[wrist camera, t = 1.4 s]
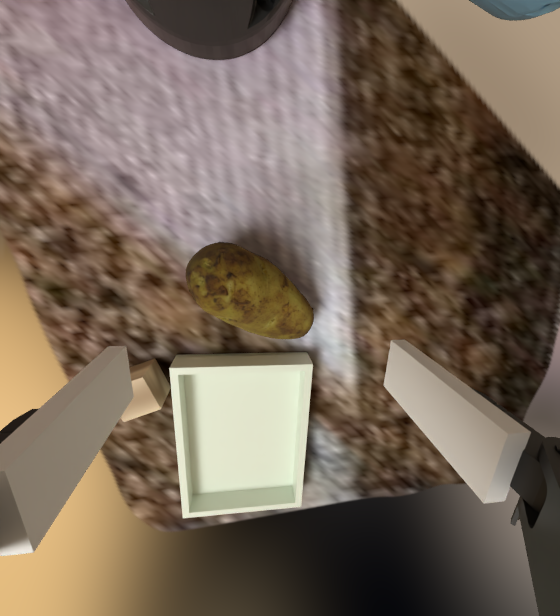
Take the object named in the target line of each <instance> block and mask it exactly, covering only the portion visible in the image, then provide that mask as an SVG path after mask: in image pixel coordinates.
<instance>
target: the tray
mask: <svg viewBox="0 0 560 616" xmlns="http://www.w3.org/2000/svg"><path fill="white" fill-rule="evenodd" d="M312 370H313V363H312V361H311V359H310V357H309V355H308V353H307V352H280V353H232V354H184V355H176V356H175V358H174V360H173V362H172V364H171V366H170V368H169V371H170V382H171V393H172V404H173V415H174V426H175V437H176V448H177V459H178V470H179V481H180V492H181V503H182V513H183V518H190V517H201V516H211V515H221V514H231V513H242V512H252V511H262V510H272V509H283V508H293V507H301V501H302V489H303V477H304V465H305V453H306V442H307V430H308V418H309V406H310V394H311V382H312Z"/></svg>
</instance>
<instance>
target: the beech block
mask: <svg viewBox="0 0 560 616" xmlns="http://www.w3.org/2000/svg"><path fill="white" fill-rule="evenodd" d="M129 369H130V375H131V382H132V388H133V395H134V397H133V399H132V400H131V402H130V403H129V405H128V407H127V408H126V410H125V411H124V413H123V414H122V416H121V419H122V420H123V422H125V421H128V420H131V419H134V418H137V417H139V416H142V415H145V414H148V413H151V412H154V411H157V410H159V409H161V408H162V405H163V403H164V401H165V399H166V397H167V394H168V392H169V390H170V388H171V387H170V385H169V383H168V381H167V379H166V377H165V376H164V374H163V372H162V370H161V368H160V366H159V364H158V362H157V361H156V359H152V360H149V361H146V362H144V363H141V364H138V365H135V366H132V367H129Z"/></svg>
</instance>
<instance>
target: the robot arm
mask: <svg viewBox="0 0 560 616" xmlns="http://www.w3.org/2000/svg"><path fill="white" fill-rule="evenodd" d="M469 1H471V2H472V3H474V4H475V5H477V6H479V7H480V8H482V9H483V10H485V11H486V12H488V13H489V14H491V15H493V16H495V17H497V18H500V19H504V20H525V19H531V18H534V17H538V16H540V15H543V14H546V13H549V12H552V11H554V10H556V9H558V8H559V7H560V0H469ZM126 2H127V4H128V5H129V6H130V8H131V9H132V11H133V12H134V13H135V14H136V16H137V17H138V18H139V19H140V20H141V21H142V23H143V24H144V25H145V26H146V27H147V28H148V29H149V30H150V31H152V32H153V33H154V34H155V35H156V36H157V37H159V38H160V39H161V40H163V41H164V42H165V43H167V44H169V45H170V46H172V47H173V48H175V49H177V50H179V51H181V52H184V53H186V54H189V55H192V56H195V57H199V58H204V59H213V60H220V59H229V58H234V57H237V56H241V55H243V54H246V53H248V52H250V51H252V50H253V49H255V48H257V47H258V46H259V45H261V44H262V43H263V42H265V41H266V40H267V39H268V38H269V37H270V36H271V35H272V34H273V32H274V31H275V30H276V29H277V27H278V26H279V25H280V23H281V22H282V20H283V18H284V17H285V15H286V13H287V11H288V9H289V7H290V4H291V2H292V0H126ZM384 387H385V388H386V389H387V390H388V391H389V392H390V394H391V395H392V396H393V397H394V398H395V400H396V401H397V402H398V403H399V404H400V405H401V407H402V408H403V409H404V410H405V411H406V412H407V414H408V415H409V416H410V417H411V418H412V420H413V421H414V422H415V423H416V424H417V425H418V427H419V428H420V429H421V430H422V431H423V432H424V434H425V435H426V436H427V437H428V438H429V440H430V441H431V442H432V443H433V444H434V445H435V447H436V448H437V449H438V450H439V451H440V452H441V454H442V455H443V456H444V457H445V458H446V460H447V461H448V462H449V463H450V464H451V465H452V467H453V468H454V469H455V470H456V471H457V472H458V474H459V475H460V476H461V477H462V478H463V480H464V481H465V482H466V483H467V484H468V485H469V487H470V488H471V489H472V490H473V491H474V492H475V494H476V495H477V496H478V497H479V498H480V499H481V501H482V502H483V503H491V502H501V501H505V499H506V497H507V494H508V491H509V489H510V486H511V487H512V488H513V489H514V490H515V491H516V492H517V493H518V494H519V495H520V498H519V500H518V503H517V505H516V508H515V510H514V513H513V516H512V518H511V524H513V525H516V522H517V520H519V519H520V521H521V526H522V531H523V536H524V541H525V546H526V551H527V556H528V561H529V566H530V571H531V577H532V581H533V587H534V592H535V597H536V602H537V607H538V612H539V616H560V438H556V437H547V438H545V437H544V436H542V435H541V434H539V433H538V432H536V431H535V430H534V429H533V428H531V427H530V426H528V425H527V424H525V423H524V422H523V421H521V420H520V419H519V418H517V417H516V416H514V415H513V414H512V413H510V412H507V410H506V409H505V408H503V407H502V406H500V405H497V403H496V402H495V401H493V400H492V399H491V398H489V397H488V396H486V395H485V394H483V393H481V392H479V391H477V390H475V389H473V388H471V387H469V386H467V385H466V384H465V383H463V382H462V381H460V380H459V379H458V378H456V377H455V376H454V375H452V374H451V373H450V372H448V371H447V370H445V369H444V368H443V367H441V366H440V365H439V364H437V363H436V362H435V361H433V360H432V359H430V358H429V357H428V356H426V355H425V354H424V353H422V352H421V351H420V350H418V349H417V348H415V347H414V346H413V345H411V344H410V343H409V342H407V341H406V340H391V345H390V351H389V357H388V363H387V369H386V375H385V380H384ZM133 397H134V395H133V388H132V382H131V375H130V369H129V362H128V356H127V349H126V346H108V347H107V348H106V349H105V350H104V351H103V352H102V353H101V354H99V355H98V356H97V357H96V358H95V359H94V360H93V361H92V362H91V363H89V364H88V365H87V366H86V367H85V368H84V369H83V370H82V371H81V372H79V373H78V374H77V375H76V376H75V377H74V378H73V379H72V380H71V381H69V382H68V383H67V384H66V385H65V386H64V387H63V388H62V389H61V390H59V391H58V392H57V393H56V394H55V395H54V396H53V397H52V398H51V399H50V400H48V401H47V402H46V403H45V404H44V405H43V406H42V407H41V408H39V409H32V410H30V411H28V412H26V413H25V414H23V415H21V416H19V417H18V418H16V419H14V420H13V421H12V422H10V423H9V424H8V425H7V426H6V427H4V428H3V429H2V430H1V431H0V555H1V556H5V555H15V554H24V553H33V552H34V551H35V550H36V548H37V547H38V545H39V543H40V542H41V540H42V539H43V537H44V536H45V534H46V533H47V531H48V529H49V528H50V526H51V525H52V523H53V522H54V520H55V518H56V517H57V515H58V514H59V512H60V511H61V509H62V508H63V506H64V505H65V503H66V501H67V500H68V498H69V496H70V495H71V494H72V492H73V491H74V489H75V487H76V486H77V484H78V483H79V481H80V480H81V478H82V477H83V475H84V473H85V472H86V470H87V469H88V467H89V466H90V464H91V463H92V461H93V459H94V458H95V456H96V455H97V453H98V452H99V450H100V449H101V447H102V445H103V444H104V442H105V441H106V439H107V438H108V436H109V435H110V433H111V431H112V430H113V428H114V427H115V425H116V424H117V422H118V421H119V419H120V417H121V416H122V414H123V413H124V411H125V410H126V408H127V407H128V405H129V403H130V402H131V400H132V399H133Z"/></svg>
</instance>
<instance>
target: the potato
mask: <svg viewBox="0 0 560 616" xmlns="http://www.w3.org/2000/svg"><path fill="white" fill-rule="evenodd" d="M186 280H187V285H188V288H189V291H190V293H191V294H192V297H193V298H194V300H195V301H196V302H197V304H198V305H199V306H200V307H201V308H202V309H203V310H205V311H206V312H208V313H209V314H211V315H213V316H215V317H217V318H219V319H221V320H223V321H225V322H227V323H229V324H231V325H234V326H236V327H239V328H242V329H244V330H246V331H248V332H251V333H255V334H258V335H261V336H265V337H269V338H275V339H296V338H300V337H302V336H304V335H305V334H307V333H308V331H309V330H310V328H311V326H312V324H313V319H314V314H313V308H312V307H311V306H310V304H309V303H308V301H307V300H306V298H305V297H304V296H303V295H302V294H301V293H300V292H299V291H298V289H297V288H296V287H295V286H294V285H293V283H292V282H291V281H290V280H289V279H288V278H287V277H286V276H285V275H284V274H283V273H282V272H281V271H280V270H279V269H278V268H277V267H276V266H275V265H273V264H272V263H271V262H269V261H268V260H266V259H265V258H263V257H261V256H258V255H256V254H254V253H252V252H249V251H248V250H246V249H244V248H242V247H240V246H237V245H235V244H231V243H224V242H218V243H214V244H210V245H208V246H206V247H204V248H202V249H201V250H199V251H198V252H197V253H196V254H195V255H194V256H193V257H192V259H191V260H190V261H189V263H188V265H187V268H186Z"/></svg>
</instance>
